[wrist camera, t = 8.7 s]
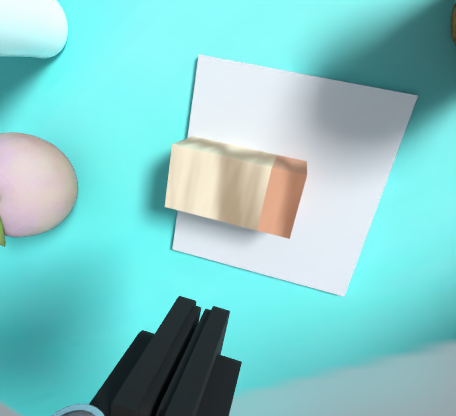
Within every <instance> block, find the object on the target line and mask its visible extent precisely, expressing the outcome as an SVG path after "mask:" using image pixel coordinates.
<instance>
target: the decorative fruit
mask: <svg viewBox="0 0 456 416" xmlns="http://www.w3.org/2000/svg"><path fill="white" fill-rule="evenodd" d="M77 194H78V183H77V178H76V174H75V171H74V169H73V166H72V164H71V163H70V161H69V160H68V158H67V157H66V156H65V154H64V153H63V152H62V151H60V150H59V149H58V148H57V147H56V146H54V145H53V144H51V143H49V142H47V141H45V140H43V139H41V138H38V137H35V136H32V135H28V134H23V133H1V134H0V245H1V246H5V237H4V235H5V236H11V237H26V236H32V235H36V234H40V233H43V232H46V231H48V230H51V229H53V228H54V227H56V226H57V225H59V224H60V223H61V222H62V221H63V220H64V219H65V218H66V217H67V216H68V214H69V213H70V211H71V210H72V208H73V206H74V204H75V201H76V198H77Z"/></svg>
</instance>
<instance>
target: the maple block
mask: <svg viewBox="0 0 456 416" xmlns="http://www.w3.org/2000/svg"><path fill="white" fill-rule="evenodd" d="M306 178H307V161H303V160H299V159H294V158H290V157H285V156H281V155H276V154H272V153H267V152H263V151H258V150H254V149H249V148H245V147H240V146H236V145H231V144H227V143H222V142H218V141H213V140H209V139H204V138H200V137H195V136H192V137H189V138H187V139H184V140H182V141H179V142H177V143H175V144H172V149H171V158H170V166H169V175H168V183H167V191H166V200H165V207H167V208H171V209H175V210H179V211H183V212H187V213H191V214H195V215H198V216H202V217H206V218H210V219H214V220H218V221H222V222H226V223H230V224H234V225H237V226H241V227H245V228H249V229H253V230H257V231H261V232H265V233H269V234H272V235H276V236H280V237H284V238H288V239H290V236H291V232H292V228H293V225H294V221H295V218H296V214H297V210H298V207H299V203H300V199H301V196H302V192H303V189H304V185H305V181H306Z"/></svg>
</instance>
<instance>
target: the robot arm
mask: <svg viewBox="0 0 456 416" xmlns="http://www.w3.org/2000/svg"><path fill="white" fill-rule="evenodd" d="M200 312H201V307H198V306H196V301H195V300H192V299H188V298H185V297H181V296H179V297H178V298H177V300H176V301H175V303H174V305H173V306H172V308H171V309H170V311H169V312H168V314H167V316H166V317H165V319H164V320H163V322H162V324H161V325H160V327H159V328H158V330H157V332H156V333H155V334H153V333H150V332H147V331H144V330H142V331H141V332H140V333H139V334H138V335H137V337H136V338H135V339H134V341H133V342H132V344H131V345H130V347H129V348H128V349H127V351H126V352H125V354H124V355H123V357H122V358H121V359H120V361H119V362H118V364H117V365H116V367H115V368H114V369H113V371H112V372H111V374H110V375H109V377H108V378H107V379H106V381H105V382H104V384H103V385H102V387H101V388H100V390H99V391H98V392H97V394H96V395H95V397H94V398H93V400H92V401H91V402H90V404H89V405H88V404H76V405H71V406H67V407H65V408H63V409H61V410H59V411H57V412H56V413H54V414H53V415H52V416H229V412H230V408H231V404H232V400H233V396H234V392H235V388H236V384H237V379H238V375H239V371H240V367H241V363H242V362H241V361H237V360H234V359H231V358H228V357H225V356H222V355H220V354H221V350H222V345H223V341H224V337H225V332H226V328H227V323H228V319H229V314H230V311H228V310H225V309H222V308H218V307H215V306H213V308H212V310H208V309H205V311H204V313H203V315H202V317H201V319H200V321H199V317H200Z"/></svg>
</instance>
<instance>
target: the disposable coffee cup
mask: <svg viewBox="0 0 456 416" xmlns="http://www.w3.org/2000/svg"><path fill="white" fill-rule="evenodd" d="M451 32H452V37H453V40H454V42H455V45H456V4H455V6H454V9H453V13H452V18H451Z"/></svg>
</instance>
